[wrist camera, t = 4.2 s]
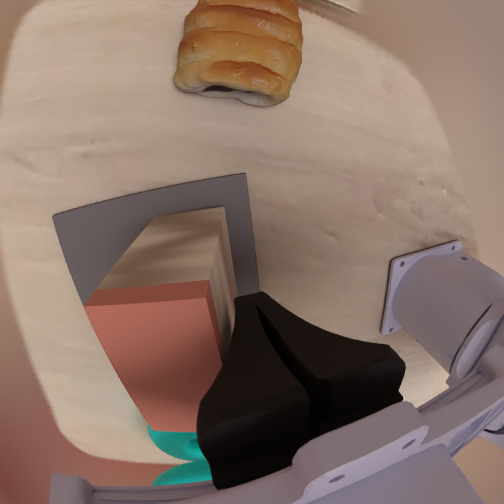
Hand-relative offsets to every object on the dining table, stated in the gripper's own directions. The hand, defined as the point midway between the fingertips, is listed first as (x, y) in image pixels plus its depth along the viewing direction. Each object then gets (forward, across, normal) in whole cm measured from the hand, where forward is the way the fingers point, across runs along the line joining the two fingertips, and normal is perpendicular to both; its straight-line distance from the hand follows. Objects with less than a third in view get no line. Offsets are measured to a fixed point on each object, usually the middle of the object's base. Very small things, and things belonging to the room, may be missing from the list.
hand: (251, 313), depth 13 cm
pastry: (+7, -2, -13) cm, 15 cm away
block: (+6, +2, 0) cm, 6 cm away
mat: (+6, +4, 0) cm, 8 cm away
